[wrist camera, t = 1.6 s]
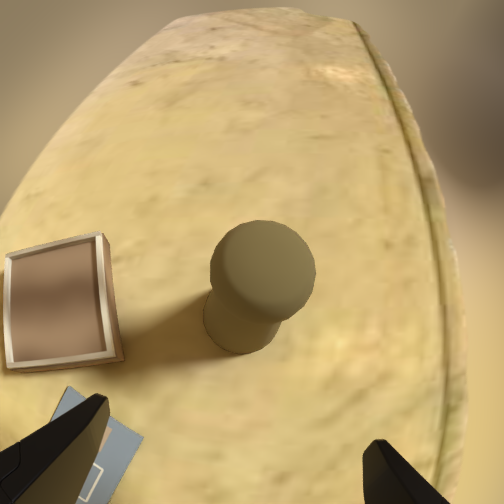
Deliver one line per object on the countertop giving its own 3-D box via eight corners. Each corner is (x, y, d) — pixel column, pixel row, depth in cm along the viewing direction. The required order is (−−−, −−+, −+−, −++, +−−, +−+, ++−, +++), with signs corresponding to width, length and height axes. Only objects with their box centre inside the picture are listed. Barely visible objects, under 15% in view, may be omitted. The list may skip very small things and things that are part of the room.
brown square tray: (124, 360, 20) (114, 357, 18) (22, 372, 18) (6, 369, 15) (109, 244, 24) (101, 229, 22) (18, 264, 22) (4, 253, 19)
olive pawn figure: (189, 332, 22) (174, 284, 12) (224, 267, 25) (237, 182, 15) (261, 366, 22) (307, 348, 12) (291, 298, 24) (347, 234, 14)
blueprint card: (97, 521, 13) (96, 522, 13) (30, 470, 14) (28, 471, 14) (143, 437, 18) (142, 438, 17) (70, 386, 18) (68, 385, 18)
